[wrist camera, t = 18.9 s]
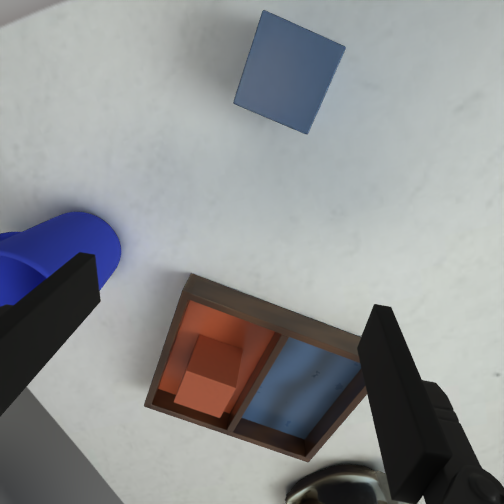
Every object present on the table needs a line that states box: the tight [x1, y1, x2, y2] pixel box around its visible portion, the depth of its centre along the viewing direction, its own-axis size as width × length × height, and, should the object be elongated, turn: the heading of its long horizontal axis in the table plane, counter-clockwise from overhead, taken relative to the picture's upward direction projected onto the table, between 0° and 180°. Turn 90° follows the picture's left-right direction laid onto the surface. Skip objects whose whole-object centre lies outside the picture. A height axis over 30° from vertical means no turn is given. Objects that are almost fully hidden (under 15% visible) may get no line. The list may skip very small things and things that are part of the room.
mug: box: [0, 212, 121, 307], centre depth 27 cm, size 8×12×10 cm
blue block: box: [233, 10, 346, 134], centre depth 21 cm, size 5×5×5 cm
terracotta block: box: [174, 335, 243, 418], centre depth 34 cm, size 5×5×5 cm
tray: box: [144, 273, 367, 462], centre depth 36 cm, size 21×18×3 cm
